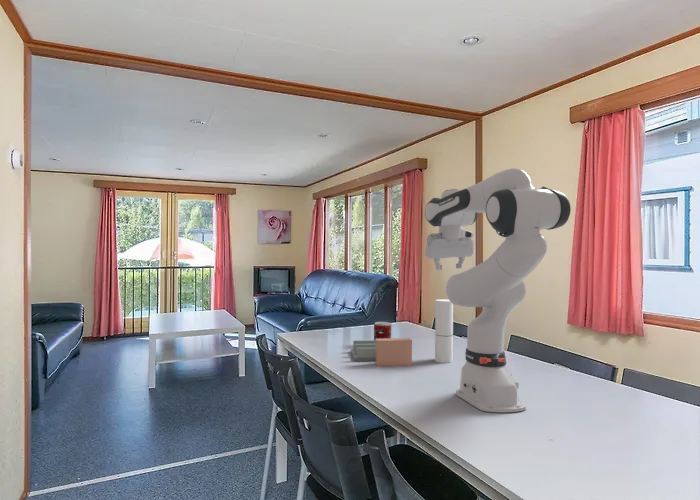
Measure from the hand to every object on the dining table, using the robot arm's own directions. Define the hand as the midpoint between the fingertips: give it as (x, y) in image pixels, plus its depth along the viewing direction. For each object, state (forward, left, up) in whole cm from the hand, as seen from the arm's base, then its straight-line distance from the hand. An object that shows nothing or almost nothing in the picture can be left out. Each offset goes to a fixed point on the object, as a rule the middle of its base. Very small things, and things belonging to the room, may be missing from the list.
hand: (448, 269), depth 164 cm
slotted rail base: (+22, +23, -39) cm, 50 cm away
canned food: (+40, +18, -39) cm, 59 cm away
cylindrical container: (+13, -3, -39) cm, 41 cm away
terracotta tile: (+9, +19, -39) cm, 44 cm away
